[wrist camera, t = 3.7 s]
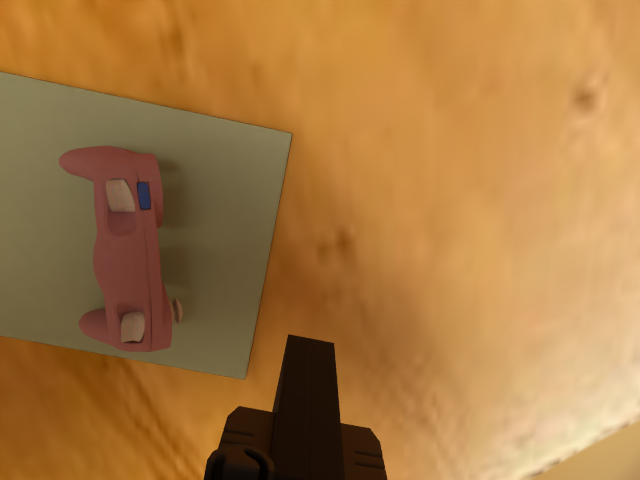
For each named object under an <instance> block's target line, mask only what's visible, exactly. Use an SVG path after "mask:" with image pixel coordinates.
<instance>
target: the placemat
mask: <svg viewBox="0 0 640 480" xmlns="http://www.w3.org/2000/svg"><path fill="white" fill-rule="evenodd" d="M291 139H292V133H290V132H285V131H280V130H275V129H271V128H266V127H261V126H257V125H252V124H247V123H242V122H238V121H233V120H228V119H223V118H219V117H214V116H209V115H205V114H200V113H195V112H190V111H186V110H181V109H176V108H171V107H167V106H162V105H157V104H153V103H148V102H143V101H138V100H134V99H129V98H124V97H119V96H115V95H110V94H105V93H101V92H96V91H91V90H86V89H82V88H77V87H72V86H67V85H63V84H58V83H53V82H49V81H44V80H39V79H34V78H30V77H25V76H20V75H15V74H11V73H6V72H1V71H0V336H4V337H10V338H16V339H21V340H27V341H32V342H38V343H43V344H49V345H54V346H60V347H66V348H71V349H77V350H82V351H88V352H93V353H99V354H104V355H110V356H115V357H121V358H127V359H132V360H138V361H143V362H149V363H154V364H160V365H165V366H171V367H177V368H182V369H188V370H193V371H199V372H204V373H210V374H215V375H221V376H226V377H232V378H238V379H243V380H245V379H246V374H247V369H248V364H249V358H250V353H251V348H252V343H253V338H254V332H255V327H256V322H257V317H258V311H259V306H260V301H261V296H262V290H263V285H264V280H265V275H266V270H267V264H268V259H269V254H270V249H271V243H272V238H273V233H274V228H275V222H276V217H277V212H278V207H279V202H280V196H281V191H282V186H283V181H284V175H285V170H286V165H287V160H288V154H289V149H290V144H291ZM95 146H114V147H119V148H123V149H127V150H131V151H134V152H136V153H138V154H147V153H152V154H154V156H155V157H156V160H157V162H158V166H159V171H160V176H161V182H162V190H163V220H162V226H161V227H160V228H157V233H158V242H159V253H160V264H161V278H162V281H163V283H164V286H165V289H166V293H167V297H168V299H169V300H170V301H171V303H172V305H173V301H174V299H175V298H176V299H177V300H178V301H179V302H180V304H181V305H182V310H183V315H182V319H181V321H180V322H179V323H177V322H176V319H175V318H174V321H173V324H172V340H171V346H170V348H167V349H162V350H157V351H153V352H128V351H123V350H119V349H117V348H115V347H113V346H110V345H108V344H106V343H103V342H100V341H98V340H95V339H93V338H91V337H89V336H87V335H85V334H84V333H83V332H82V331H81V329H80V327H79V324H78V322H79V320H80V318H81V317H82V316H83V315H84V314H85V313H87V312H89V311H92V310H96V309H102V308H105V301H104V294H103V292H102V290H101V288H100V287H99V285H98V282H97V279H96V276H95V273H94V269H93V251H94V245H95V241H96V237H97V226H96V217H95V208H94V182H93V181H90V180H88V179H86V178H82V177H79V176H75V175H71V174H69V173H67V172H66V171H65V170H64V169H63V168H62V167H61V166H60V165H59V158H60V157H61V156H62V155H63V154H64V153H66V152H68V151H70V150H74V149H78V148H86V147H95Z"/></svg>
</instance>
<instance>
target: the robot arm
mask: <svg viewBox="0 0 640 480" xmlns="http://www.w3.org/2000/svg"><path fill="white" fill-rule="evenodd" d="M382 456H383V455H382V450H381V445H380V441H379V440H378V439H377V437H376V436H375V435H374V433H373V432H372V431H371V429H370V428H365V427H359V426H354V425H348V424H343V423H340V410H339V398H338V386H337V373H336V361H335V349H334V343H331V342H326V341H321V340H315V339H310V338H305V337H299V336H294V335H289V334H288V338H287V343H286V348H285V353H284V357H283V362H282V367H281V372H280V377H279V381H278V386H277V391H276V396H275V401H274V406H273V411H272V412H269V411H263V410H258V409H252V408H247V407H241V406H239V407H237V408H236V409H235V410H234V411H233V412H232V413H231V414H229V415H228V417H227V420H226V424H225V427H224V431H223V434H222V437H221V441H220V444H219V447H218V449H217V450H215V451H213V452H212V454H211V455H210V457H209V458H208V460H207V464H206V470H205V476H204V480H387V475H386V470H385V465H384V460H383V458H382Z"/></svg>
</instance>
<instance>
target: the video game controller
mask: <svg viewBox="0 0 640 480" xmlns="http://www.w3.org/2000/svg"><path fill="white" fill-rule="evenodd" d="M59 165H60V166H61V167H62V168H63V169H64V170H65V171H66V172H67V173H69V174H71V175H75V176H79V177H82V178H86V179H88V180H90V181H93V182H94V208H95V217H96V226H97V237H96V241H95V245H94V251H93V269H94V273H95V276H96V279H97V282H98V285H99V287H100V288H101V290H102V292H103V294H104V301H105V308H102V309H96V310H92V311H89V312H87V313H85V314H84V315H83V316H82V317H81V318H80V320H79V322H78V324H79V327H80V329H81V331H82V332H83V333H84V334H85V335H87V336H89V337H91V338H93V339H95V340H98V341H100V342H103V343H106V344H108V345H110V346H113V347H115V348H117V349H119V350H123V351H128V352H153V351H157V350H162V349H167V348H170V346H171V340H172V324H173V321H174V318H175V319H176V322H177V323H179V322H180V321H181V319H182V315H183V310H182V305H181V304H180V302H179V301H178V300H177V299H176V298H175V299H174V301H173V305H172V303H171V301H170V300H169V299H168V297H167V293H166V289H165V286H164V283H163V281H162V278H161V264H160V253H159V242H158V233H157V228H160V227H161V226H162V220H163V190H162V182H161V176H160V171H159V166H158V162H157V160H156V157H155V156H154V154H152V153H147V154H138V153H136V152H134V151H131V150H127V149H123V148H119V147H114V146H95V147H86V148H78V149H74V150H70V151H68V152H66V153H64V154H63V155H62V156H61V157H60V158H59Z"/></svg>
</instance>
